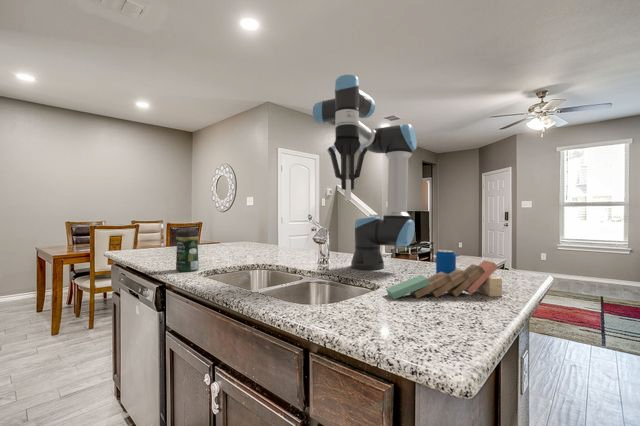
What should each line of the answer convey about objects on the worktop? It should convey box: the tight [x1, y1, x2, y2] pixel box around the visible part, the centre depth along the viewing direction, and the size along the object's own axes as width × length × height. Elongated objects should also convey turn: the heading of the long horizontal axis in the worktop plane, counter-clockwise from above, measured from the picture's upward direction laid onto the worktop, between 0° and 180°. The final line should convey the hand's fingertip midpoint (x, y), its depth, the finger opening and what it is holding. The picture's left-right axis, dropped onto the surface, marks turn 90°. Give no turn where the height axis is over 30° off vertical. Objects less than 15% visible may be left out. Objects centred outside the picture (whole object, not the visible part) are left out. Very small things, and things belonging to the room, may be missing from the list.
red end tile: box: [463, 259, 499, 295], centre depth 98 cm, size 5×2×12 cm
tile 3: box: [428, 268, 469, 298], centre depth 97 cm, size 5×2×12 cm
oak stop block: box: [475, 274, 503, 297], centre depth 99 cm, size 7×4×5 cm, turn 7°
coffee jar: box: [175, 227, 200, 273], centre depth 138 cm, size 10×8×19 cm
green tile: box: [386, 274, 430, 300], centre depth 95 cm, size 5×2×12 cm
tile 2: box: [409, 272, 452, 299], centre depth 96 cm, size 5×2×12 cm
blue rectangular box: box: [435, 249, 457, 274], centre depth 111 cm, size 6×6×12 cm
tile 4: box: [446, 263, 485, 298], centre depth 98 cm, size 5×2×12 cm
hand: (347, 200), depth 100 cm, fingers closed
